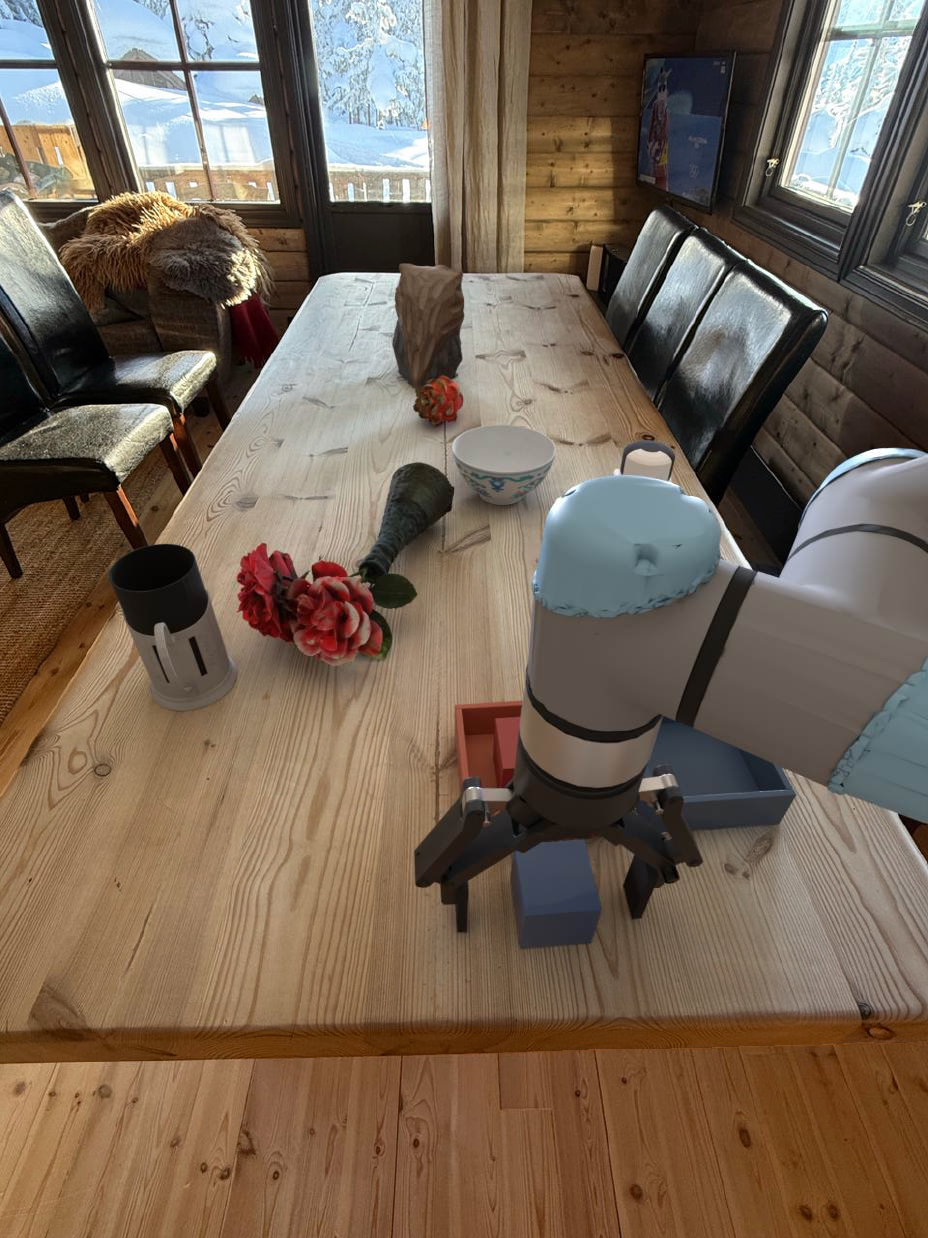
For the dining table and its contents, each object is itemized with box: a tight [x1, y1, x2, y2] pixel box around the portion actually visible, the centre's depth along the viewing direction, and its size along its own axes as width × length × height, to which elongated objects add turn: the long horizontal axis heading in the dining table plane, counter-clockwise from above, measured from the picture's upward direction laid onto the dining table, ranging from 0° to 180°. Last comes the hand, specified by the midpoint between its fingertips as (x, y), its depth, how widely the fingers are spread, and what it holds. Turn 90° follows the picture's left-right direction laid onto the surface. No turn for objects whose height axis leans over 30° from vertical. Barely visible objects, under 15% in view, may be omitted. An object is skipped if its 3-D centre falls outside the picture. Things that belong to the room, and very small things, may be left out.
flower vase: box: [236, 461, 456, 667], centre depth 79 cm, size 16×18×35 cm
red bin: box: [454, 700, 602, 843], centre depth 59 cm, size 12×12×4 cm
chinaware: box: [451, 424, 557, 506], centre depth 98 cm, size 15×15×8 cm
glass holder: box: [108, 543, 238, 712], centre depth 63 cm, size 9×14×15 cm, turn 20°
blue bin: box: [635, 716, 797, 834], centre depth 60 cm, size 12×12×4 cm
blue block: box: [509, 839, 603, 950], centre depth 50 cm, size 6×6×6 cm
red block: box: [493, 717, 520, 788], centre depth 59 cm, size 6×6×6 cm
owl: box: [391, 263, 465, 389], centre depth 130 cm, size 13×13×20 cm
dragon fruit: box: [412, 376, 465, 427], centre depth 118 cm, size 8×8×12 cm
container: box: [612, 439, 676, 483], centre depth 88 cm, size 8×8×13 cm
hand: (547, 908), depth 52 cm, fingers open, 13 cm apart
